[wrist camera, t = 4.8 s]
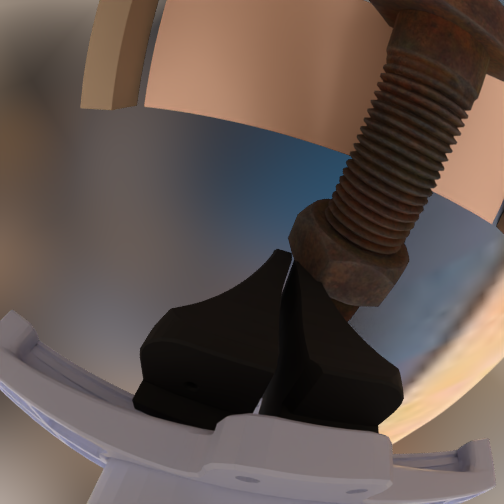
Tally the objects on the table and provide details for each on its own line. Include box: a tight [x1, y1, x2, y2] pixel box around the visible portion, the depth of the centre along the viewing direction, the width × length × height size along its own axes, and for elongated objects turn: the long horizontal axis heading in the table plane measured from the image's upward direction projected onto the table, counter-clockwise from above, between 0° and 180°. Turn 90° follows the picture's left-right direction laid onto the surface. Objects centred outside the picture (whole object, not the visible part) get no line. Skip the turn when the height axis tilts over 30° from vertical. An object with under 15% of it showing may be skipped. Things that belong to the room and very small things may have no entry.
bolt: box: [288, 0, 504, 322], centre depth 9 cm, size 6×5×15 cm
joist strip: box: [81, 0, 504, 234], centre depth 8 cm, size 7×23×2 cm, turn 78°
